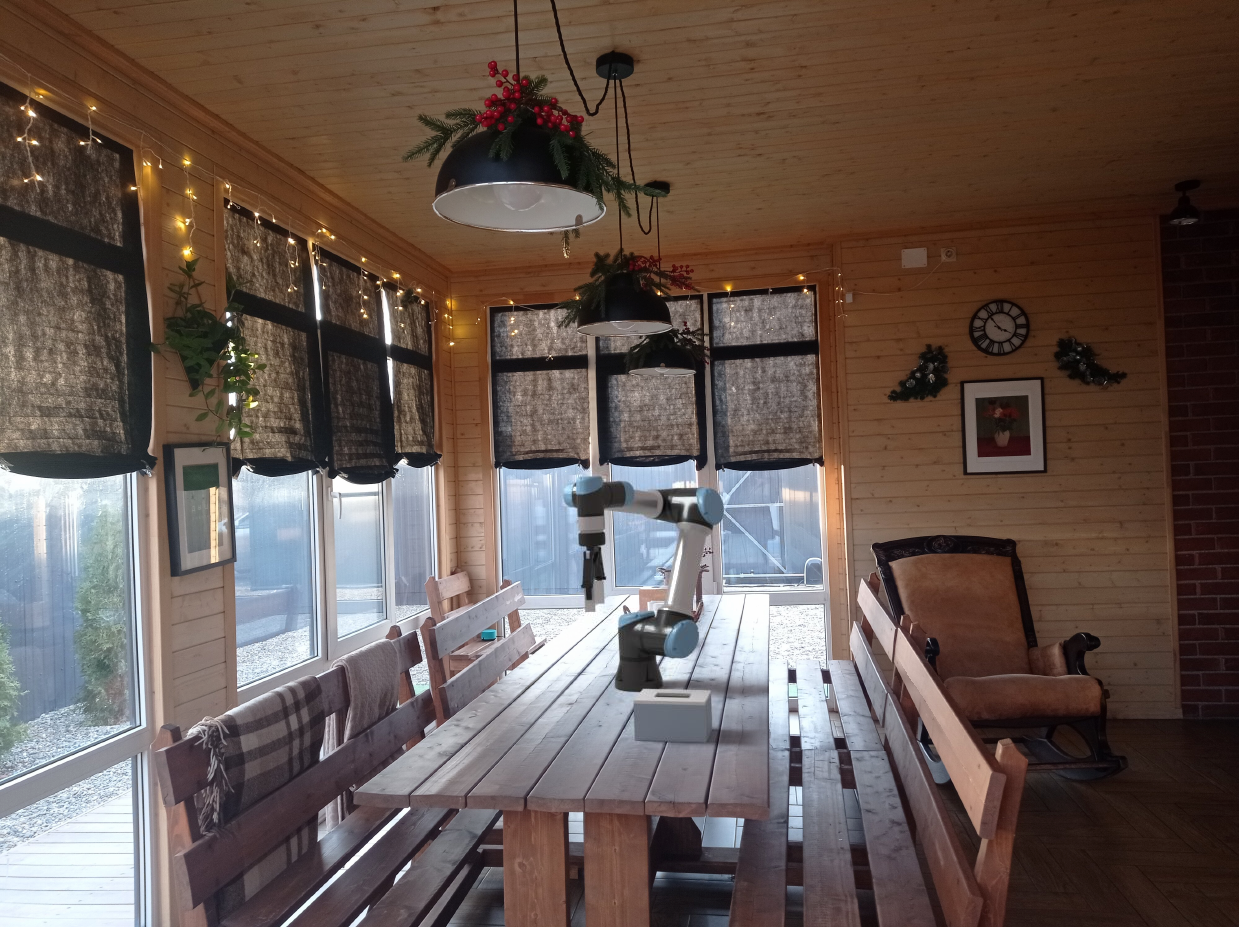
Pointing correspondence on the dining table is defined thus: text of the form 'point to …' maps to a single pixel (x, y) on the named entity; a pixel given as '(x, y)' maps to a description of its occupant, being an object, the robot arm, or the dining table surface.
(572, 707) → the dining table surface
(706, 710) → the coin box
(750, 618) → the dining table surface
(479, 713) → the dining table surface
